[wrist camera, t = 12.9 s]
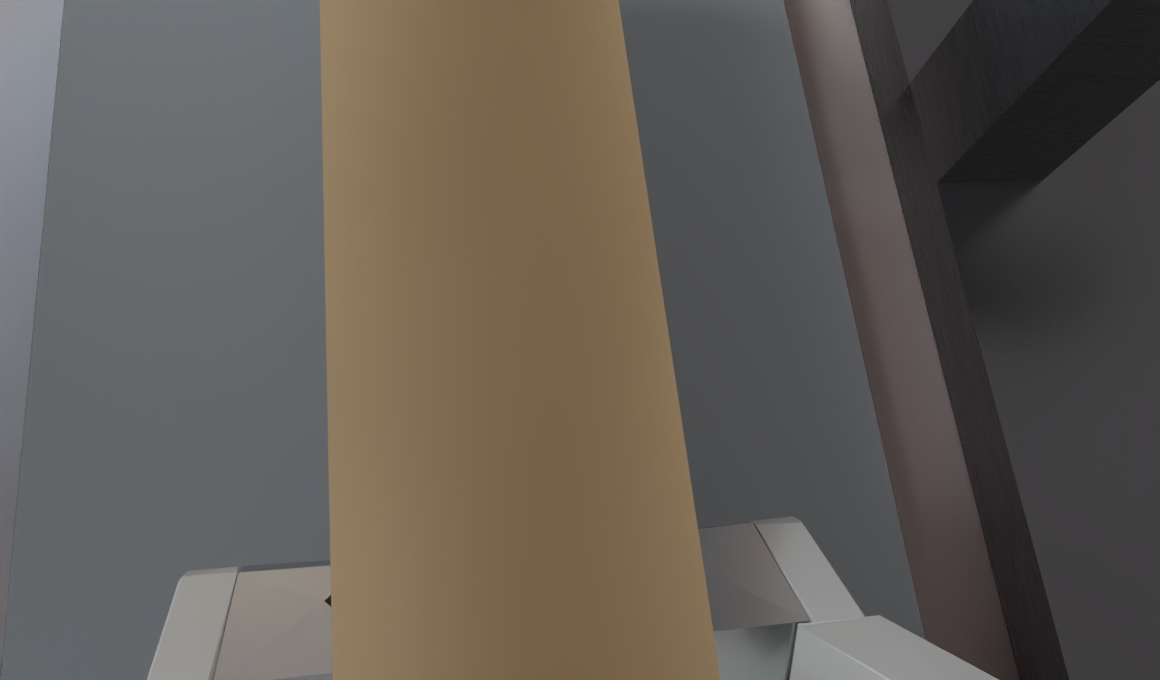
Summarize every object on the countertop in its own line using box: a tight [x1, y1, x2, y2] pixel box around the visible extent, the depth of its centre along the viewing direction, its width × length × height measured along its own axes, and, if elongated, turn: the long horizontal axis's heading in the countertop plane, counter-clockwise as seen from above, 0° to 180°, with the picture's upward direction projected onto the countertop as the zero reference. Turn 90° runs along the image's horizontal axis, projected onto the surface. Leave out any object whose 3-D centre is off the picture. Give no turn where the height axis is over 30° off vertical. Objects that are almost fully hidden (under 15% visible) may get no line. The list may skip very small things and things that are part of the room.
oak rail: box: [320, 0, 721, 680], centre depth 9 cm, size 3×22×3 cm, turn 7°
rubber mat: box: [0, 0, 926, 680], centre depth 13 cm, size 12×28×1 cm, turn 6°
